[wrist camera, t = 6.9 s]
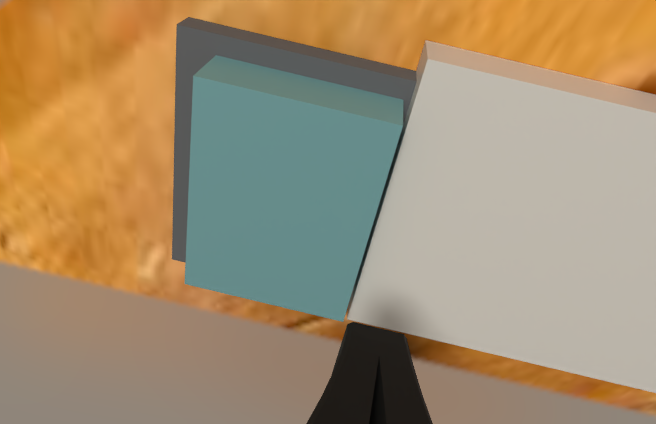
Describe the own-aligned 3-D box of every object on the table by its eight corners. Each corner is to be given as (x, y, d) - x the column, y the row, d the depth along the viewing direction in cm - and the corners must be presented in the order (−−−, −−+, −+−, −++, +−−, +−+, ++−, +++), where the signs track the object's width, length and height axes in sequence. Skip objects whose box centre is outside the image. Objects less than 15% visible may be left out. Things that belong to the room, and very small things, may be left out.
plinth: (866, 144, 15) (922, 176, 14) (670, 361, 21) (692, 401, 20) (425, 39, 15) (427, 58, 14) (351, 285, 21) (347, 319, 20)
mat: (416, 71, 16) (416, 81, 15) (351, 285, 21) (349, 301, 20) (188, 17, 16) (176, 24, 15) (181, 244, 21) (171, 259, 20)
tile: (403, 99, 15) (402, 125, 14) (348, 285, 20) (343, 321, 18) (215, 55, 15) (193, 75, 14) (203, 250, 20) (184, 283, 18)
